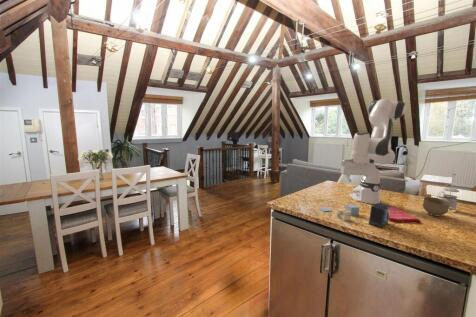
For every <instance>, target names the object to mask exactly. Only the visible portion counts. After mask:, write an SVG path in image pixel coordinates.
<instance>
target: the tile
mask: <svg viewBox="0 0 476 317" xmlns="http://www.w3.org/2000/svg"><path fill="white" fill-rule="evenodd" d="M317 209H319V210H320V211H321V212H322V213H324V212H325V213H327V212H328V213H330V212H331V213H332V212H333V210H332V209H330V208H329V207H327V206H325V207H322V206H319V207H317Z"/></svg>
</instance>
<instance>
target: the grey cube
mask: <svg viewBox="0 0 476 317" xmlns="http://www.w3.org/2000/svg"><path fill="white" fill-rule="evenodd" d="M345 209H346V210H349V211H351V216H359V212H360V207H359V206H358V205H357V204H356V205H355V204H346V208H345Z"/></svg>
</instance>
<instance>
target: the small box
mask: <svg viewBox="0 0 476 317" xmlns="http://www.w3.org/2000/svg"><path fill="white" fill-rule="evenodd" d="M372 205H373V206H372ZM372 205H371V207H370V213H369V219H368V220H369V221H368V224H369V225H371V226H375V227H377V228H383V227H385V226H386V225H388V224H389V220H388V218H389V211H390V207H391V206H390V205H388V204H384V203H382V202H380V203H377V204H372ZM382 226H383V227H382Z"/></svg>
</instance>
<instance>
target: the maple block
mask: <svg viewBox="0 0 476 317" xmlns="http://www.w3.org/2000/svg"><path fill="white" fill-rule="evenodd" d="M351 217H352V215H351V211H349V210H346V208H340V209H337V213H336V218H337V219H339V220H341V221H343V222H345V221H351Z"/></svg>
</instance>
